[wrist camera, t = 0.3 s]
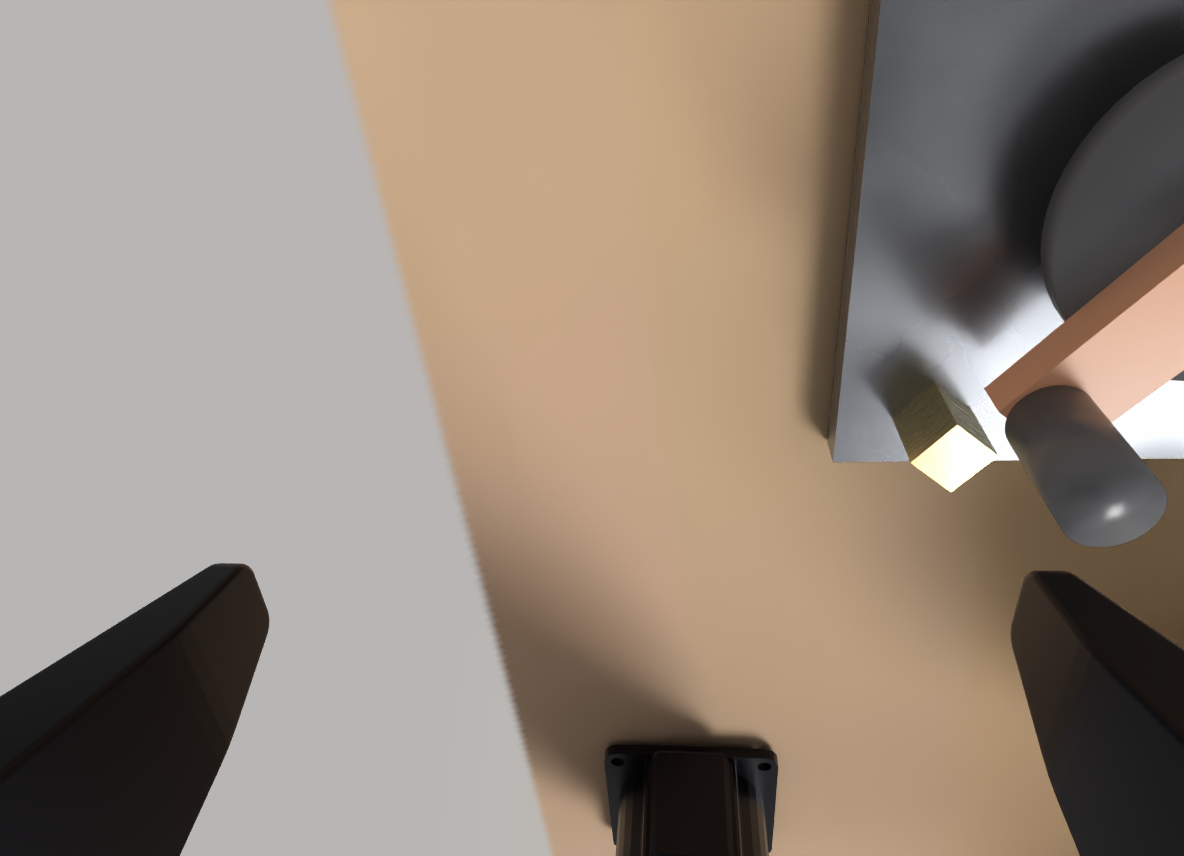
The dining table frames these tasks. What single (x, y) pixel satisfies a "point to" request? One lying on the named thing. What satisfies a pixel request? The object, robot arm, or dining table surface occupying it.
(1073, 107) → the hub plate
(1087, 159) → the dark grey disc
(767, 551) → the dining table surface
